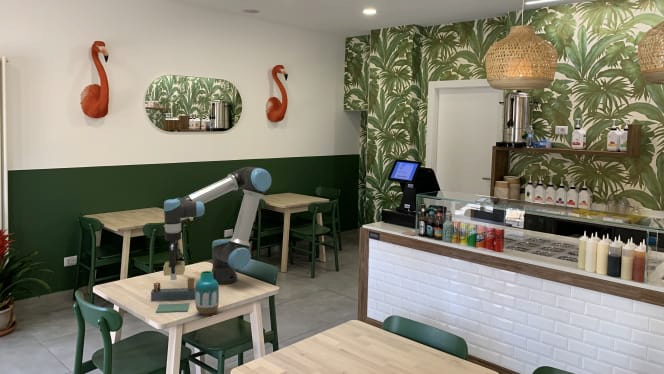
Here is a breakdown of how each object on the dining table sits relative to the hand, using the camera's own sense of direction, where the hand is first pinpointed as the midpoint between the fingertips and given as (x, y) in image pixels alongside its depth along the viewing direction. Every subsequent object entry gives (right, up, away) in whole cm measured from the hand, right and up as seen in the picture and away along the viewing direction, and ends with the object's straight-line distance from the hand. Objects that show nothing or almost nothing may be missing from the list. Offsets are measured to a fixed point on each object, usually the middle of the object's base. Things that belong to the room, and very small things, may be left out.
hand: (174, 276), depth 259 cm
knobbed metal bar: (0, -11, +1) cm, 11 cm away
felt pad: (+3, -13, -13) cm, 18 cm away
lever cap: (0, +2, 0) cm, 2 cm away
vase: (+20, -14, -17) cm, 30 cm away
